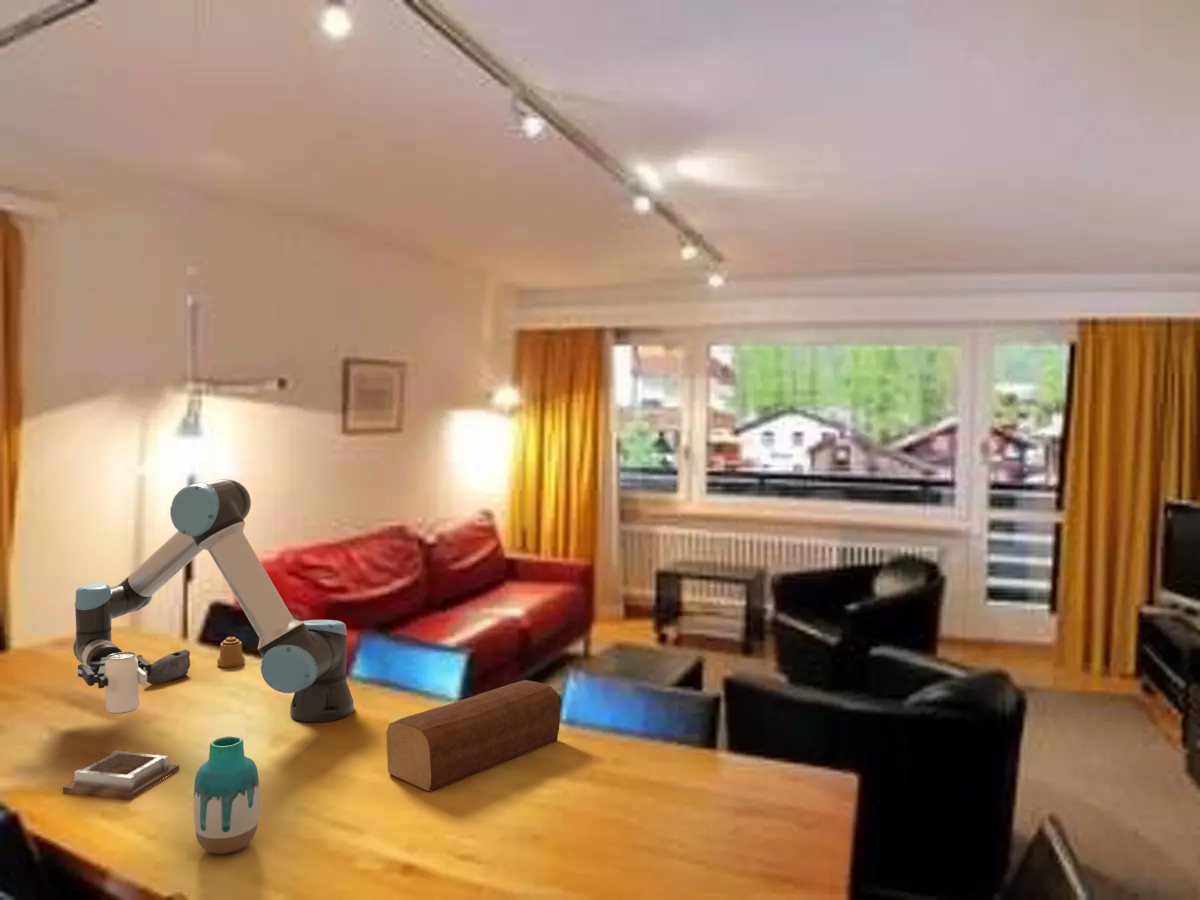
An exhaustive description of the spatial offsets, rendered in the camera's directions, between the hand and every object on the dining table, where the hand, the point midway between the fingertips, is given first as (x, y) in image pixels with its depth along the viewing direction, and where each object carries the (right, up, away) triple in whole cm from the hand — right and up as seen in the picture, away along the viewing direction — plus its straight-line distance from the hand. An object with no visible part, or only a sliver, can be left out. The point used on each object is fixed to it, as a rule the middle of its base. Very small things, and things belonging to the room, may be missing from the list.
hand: (129, 683), depth 199 cm
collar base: (+4, -17, -10) cm, 20 cm away
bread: (+74, -18, +6) cm, 76 cm away
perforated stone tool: (-18, -13, +56) cm, 60 cm away
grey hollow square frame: (+4, -17, -10) cm, 20 cm away
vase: (+36, -20, -37) cm, 55 cm away
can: (-4, -7, +4) cm, 9 cm away
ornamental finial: (-6, -13, +71) cm, 72 cm away
